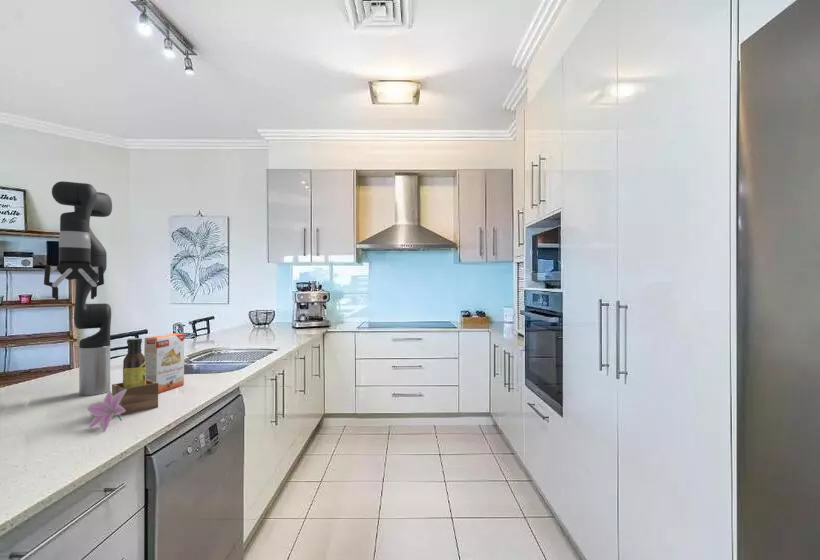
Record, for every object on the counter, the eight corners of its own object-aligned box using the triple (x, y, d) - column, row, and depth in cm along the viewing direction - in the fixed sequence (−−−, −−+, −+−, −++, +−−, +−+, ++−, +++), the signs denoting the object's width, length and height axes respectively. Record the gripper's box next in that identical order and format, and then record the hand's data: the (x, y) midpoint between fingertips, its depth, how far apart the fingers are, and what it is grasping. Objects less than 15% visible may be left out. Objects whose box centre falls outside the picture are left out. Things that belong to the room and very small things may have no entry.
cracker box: (156, 394, 148) (156, 337, 148) (142, 394, 149) (143, 337, 150) (185, 385, 162) (185, 333, 162) (172, 384, 163) (172, 332, 163)
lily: (87, 425, 120) (73, 402, 115) (131, 402, 127) (119, 379, 122) (100, 448, 113) (85, 424, 108) (145, 422, 120) (133, 398, 115)
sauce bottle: (147, 399, 132) (148, 338, 132) (124, 403, 128) (125, 340, 128) (143, 395, 137) (143, 336, 137) (121, 399, 133) (121, 338, 133)
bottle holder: (111, 408, 132) (112, 384, 132) (146, 401, 140) (146, 378, 140) (122, 415, 126) (122, 389, 126) (158, 407, 134) (158, 383, 134)
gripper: (102, 249, 132) (102, 298, 132) (44, 246, 123) (43, 299, 123) (105, 247, 127) (104, 299, 127) (43, 244, 117) (43, 300, 117)
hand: (74, 299), depth 125 cm, fingers open, 8 cm apart
